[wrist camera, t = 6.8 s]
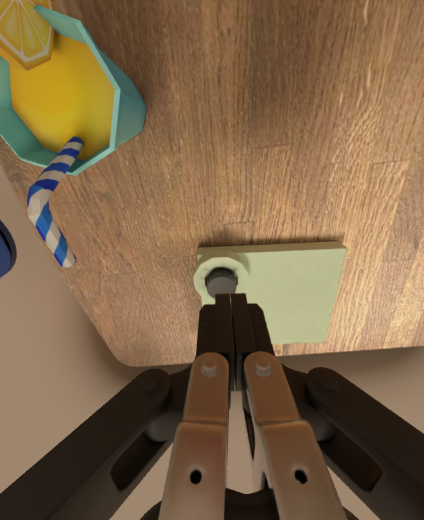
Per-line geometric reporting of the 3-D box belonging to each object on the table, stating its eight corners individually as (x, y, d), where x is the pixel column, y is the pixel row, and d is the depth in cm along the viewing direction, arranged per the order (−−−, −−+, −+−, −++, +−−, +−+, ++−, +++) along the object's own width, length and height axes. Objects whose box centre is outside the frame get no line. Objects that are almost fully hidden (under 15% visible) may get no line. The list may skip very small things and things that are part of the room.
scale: (202, 336, 35) (201, 356, 32) (193, 243, 28) (191, 258, 25) (320, 332, 35) (330, 352, 32) (340, 236, 28) (356, 251, 25)
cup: (175, 193, 26) (134, 267, 12) (102, 201, 26) (-13, 280, 13) (143, 10, 19) (-18, -252, 6) (46, 24, 19) (-312, -190, 6)
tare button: (208, 291, 28) (207, 301, 26) (206, 268, 26) (205, 277, 25) (235, 290, 27) (236, 300, 26) (234, 267, 26) (236, 275, 25)
